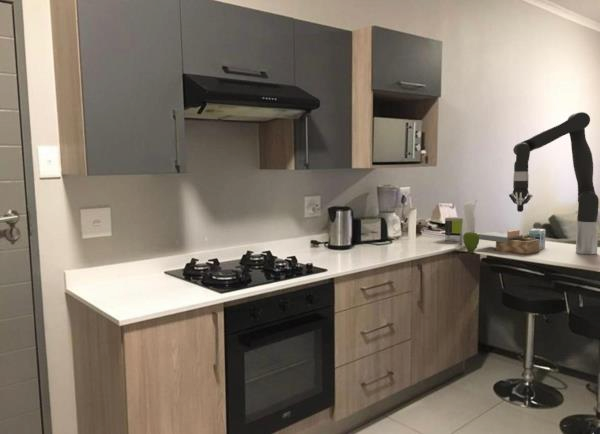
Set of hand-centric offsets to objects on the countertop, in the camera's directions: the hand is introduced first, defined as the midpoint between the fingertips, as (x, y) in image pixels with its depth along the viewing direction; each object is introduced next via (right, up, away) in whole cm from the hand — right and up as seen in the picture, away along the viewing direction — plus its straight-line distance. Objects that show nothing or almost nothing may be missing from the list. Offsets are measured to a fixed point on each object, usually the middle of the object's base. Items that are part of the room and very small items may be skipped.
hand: (520, 211), depth 278 cm
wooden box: (0, -22, +3) cm, 22 cm away
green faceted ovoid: (-25, -22, +5) cm, 34 cm away
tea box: (-19, -18, +46) cm, 53 cm away
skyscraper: (-21, -21, +23) cm, 37 cm away
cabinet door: (-7, -16, +12) cm, 21 cm away
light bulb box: (+15, -21, +13) cm, 29 cm away
